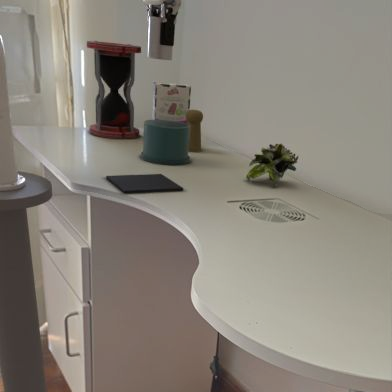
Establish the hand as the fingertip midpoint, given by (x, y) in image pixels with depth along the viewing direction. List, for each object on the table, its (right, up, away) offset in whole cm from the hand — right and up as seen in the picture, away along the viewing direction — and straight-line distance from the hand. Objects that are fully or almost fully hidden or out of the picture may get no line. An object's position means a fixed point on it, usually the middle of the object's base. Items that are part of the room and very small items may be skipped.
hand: (160, 43), depth 103 cm
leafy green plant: (+27, -26, +15) cm, 40 cm away
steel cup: (0, -2, +2) cm, 3 cm away
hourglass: (-19, +3, +50) cm, 54 cm away
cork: (+6, -6, +41) cm, 42 cm away
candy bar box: (-1, 0, +49) cm, 49 cm away
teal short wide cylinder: (-1, -15, +27) cm, 31 cm away
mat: (-4, -30, +4) cm, 30 cm away
